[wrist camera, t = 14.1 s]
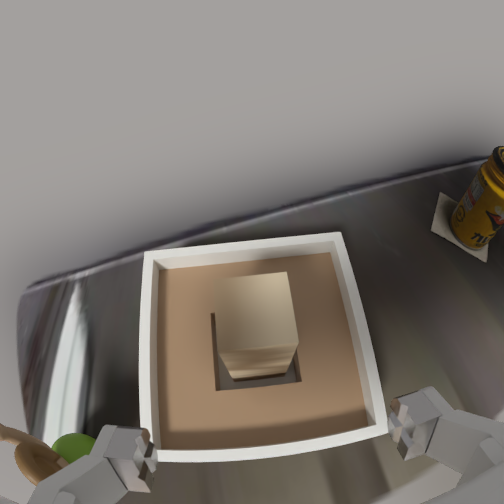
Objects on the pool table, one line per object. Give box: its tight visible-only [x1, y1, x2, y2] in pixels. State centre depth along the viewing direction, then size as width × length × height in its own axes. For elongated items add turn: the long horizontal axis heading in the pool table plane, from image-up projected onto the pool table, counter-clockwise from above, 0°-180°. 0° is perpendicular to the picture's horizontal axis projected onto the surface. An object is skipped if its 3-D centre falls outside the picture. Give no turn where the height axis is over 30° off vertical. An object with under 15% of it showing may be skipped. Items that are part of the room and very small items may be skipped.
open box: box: [139, 232, 389, 462], centre depth 23 cm, size 16×16×6 cm
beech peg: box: [213, 272, 299, 382], centre depth 20 cm, size 4×4×10 cm
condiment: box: [431, 146, 504, 263], centre depth 27 cm, size 7×8×12 cm
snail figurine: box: [0, 424, 96, 486], centre depth 14 cm, size 5×6×12 cm
